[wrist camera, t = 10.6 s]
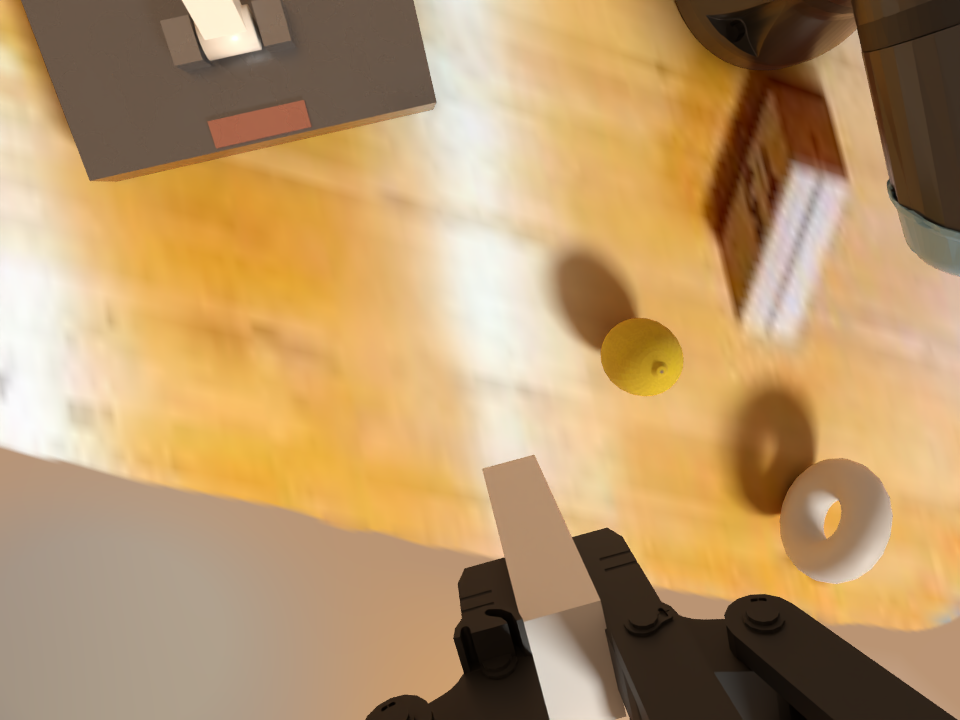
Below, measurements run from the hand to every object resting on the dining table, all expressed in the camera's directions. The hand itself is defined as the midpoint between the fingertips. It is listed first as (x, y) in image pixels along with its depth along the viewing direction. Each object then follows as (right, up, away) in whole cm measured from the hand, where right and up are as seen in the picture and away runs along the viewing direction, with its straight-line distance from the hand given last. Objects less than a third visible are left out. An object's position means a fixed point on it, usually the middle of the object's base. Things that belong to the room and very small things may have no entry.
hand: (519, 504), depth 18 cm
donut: (+26, -7, +39) cm, 48 cm away
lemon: (+10, +5, +33) cm, 35 cm away
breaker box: (-16, +24, +25) cm, 38 cm away
